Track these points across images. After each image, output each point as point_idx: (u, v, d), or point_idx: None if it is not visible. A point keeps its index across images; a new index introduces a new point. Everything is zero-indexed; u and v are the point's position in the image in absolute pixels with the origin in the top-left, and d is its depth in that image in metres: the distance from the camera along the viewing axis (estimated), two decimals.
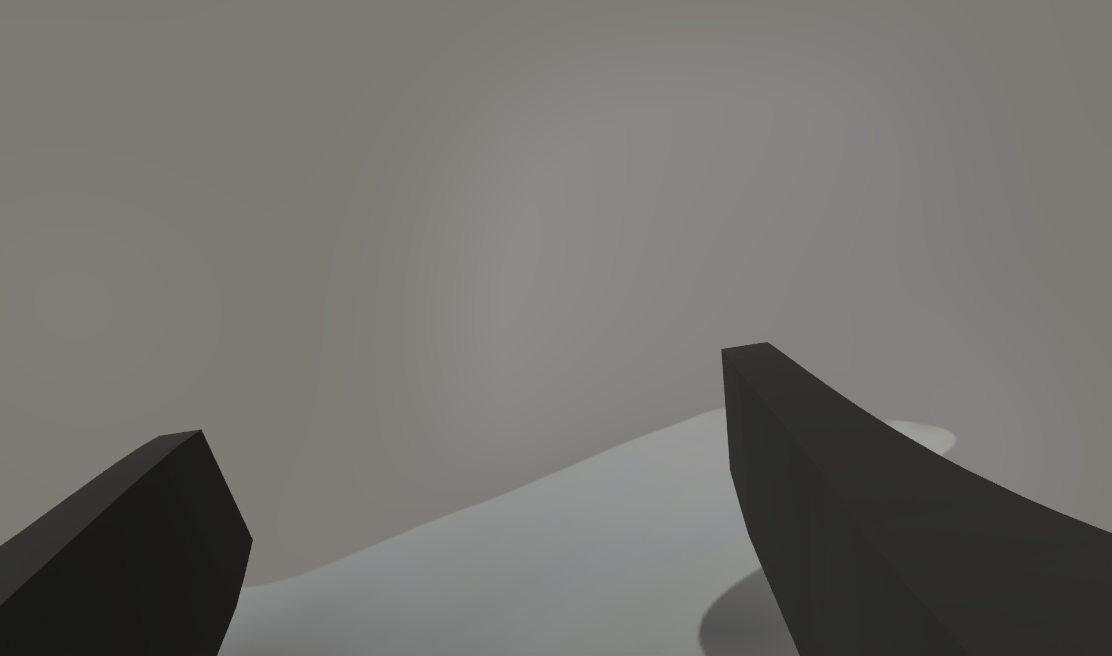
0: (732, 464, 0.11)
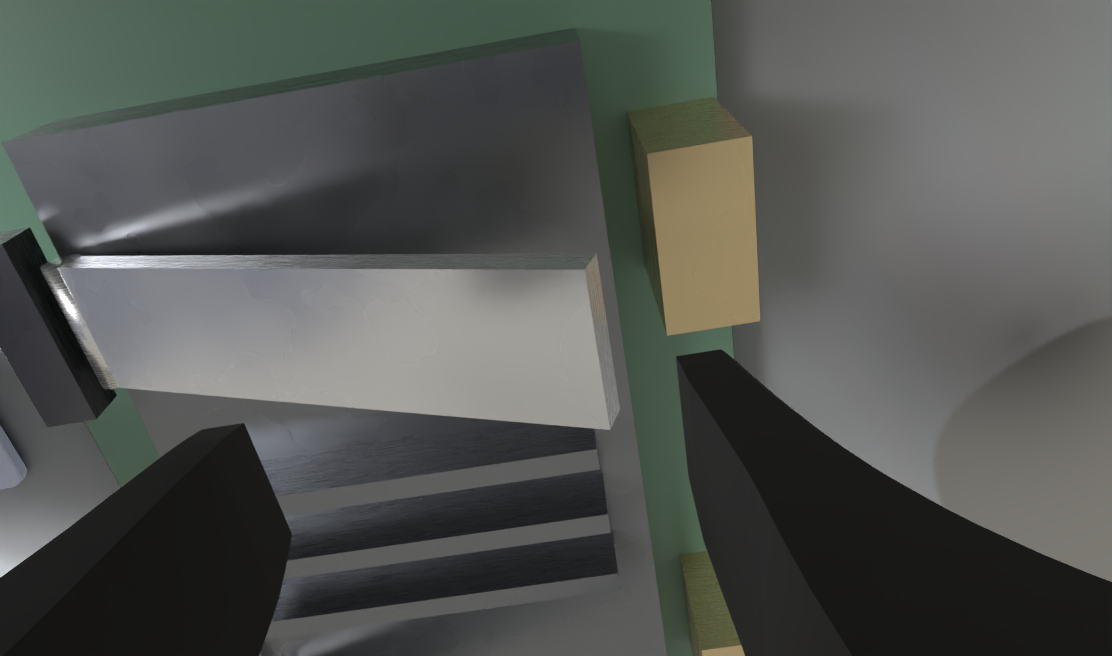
0: (689, 470, 0.11)
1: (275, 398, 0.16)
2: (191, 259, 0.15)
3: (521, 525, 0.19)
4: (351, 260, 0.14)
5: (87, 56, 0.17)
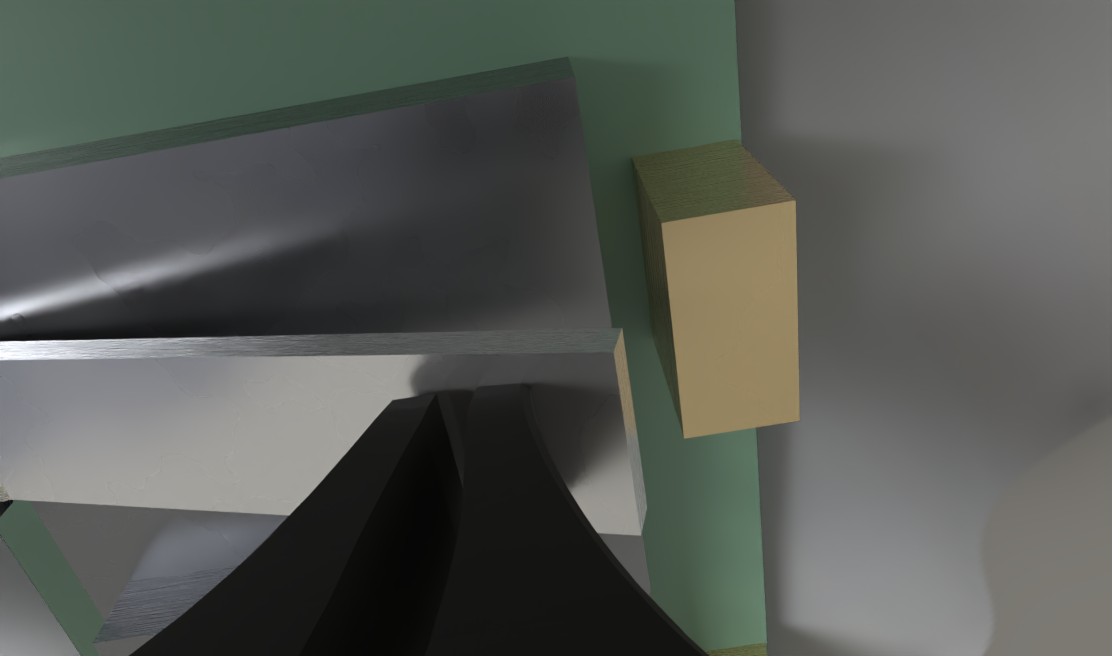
0: None
1: (213, 508, 0.13)
2: (99, 345, 0.12)
3: None
4: (308, 343, 0.11)
5: None
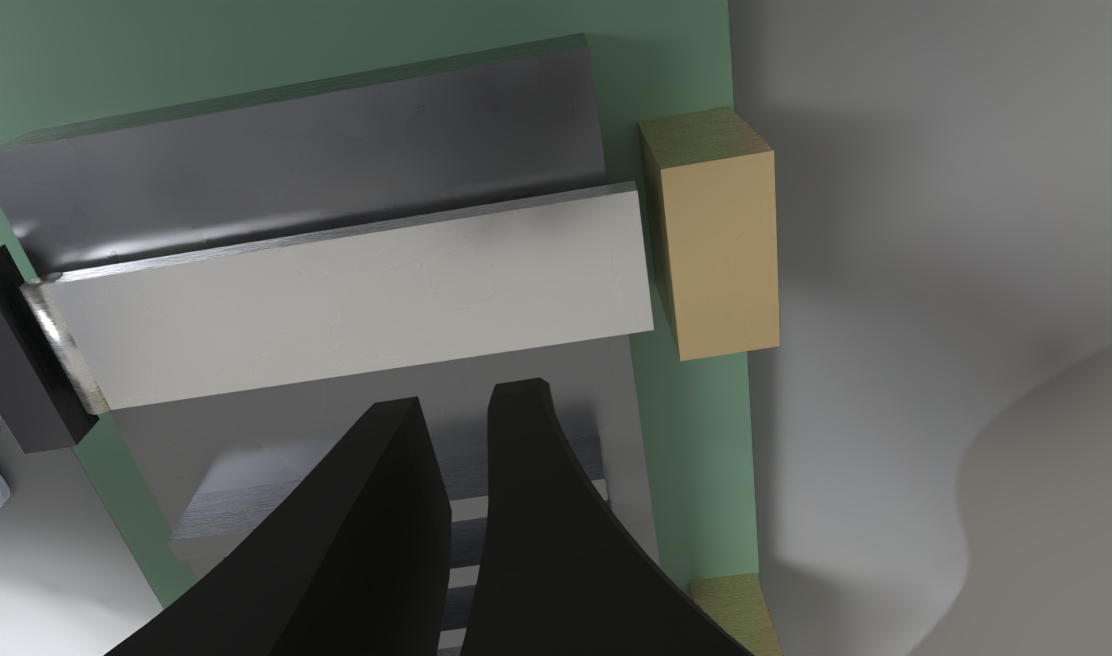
0: None
1: (312, 378, 0.16)
2: (217, 250, 0.15)
3: None
4: (405, 221, 0.15)
5: (66, 62, 0.16)
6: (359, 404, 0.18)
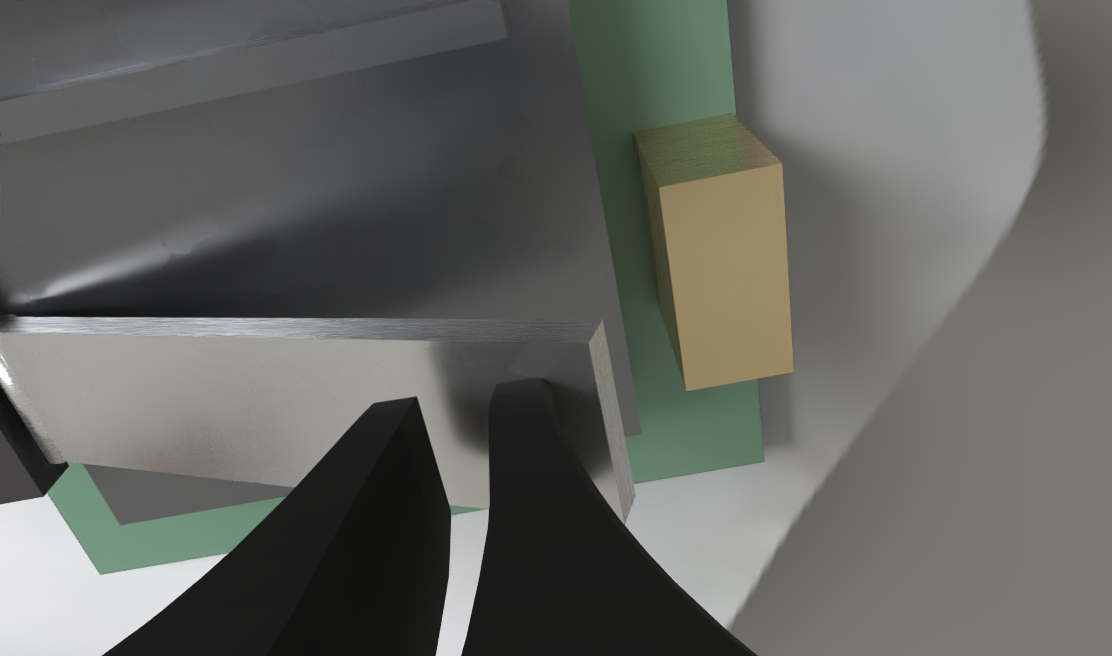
0: None
1: None
2: None
3: None
4: None
5: None
6: None
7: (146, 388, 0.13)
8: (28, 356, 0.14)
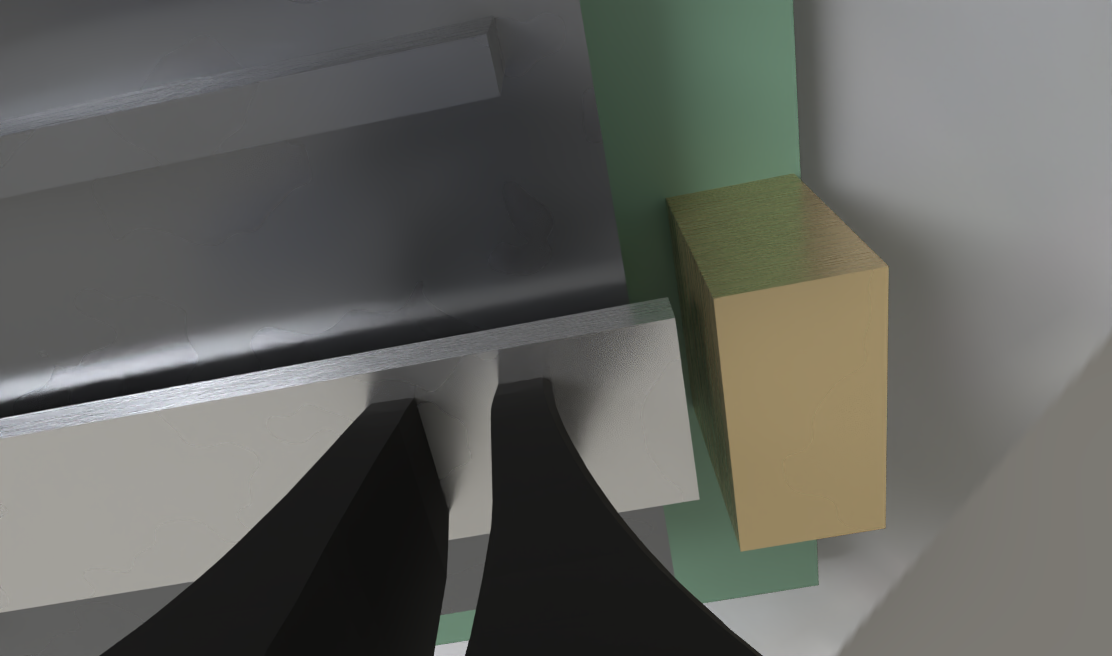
0: None
1: None
2: None
3: None
4: None
5: None
6: None
7: (95, 489, 0.11)
8: None
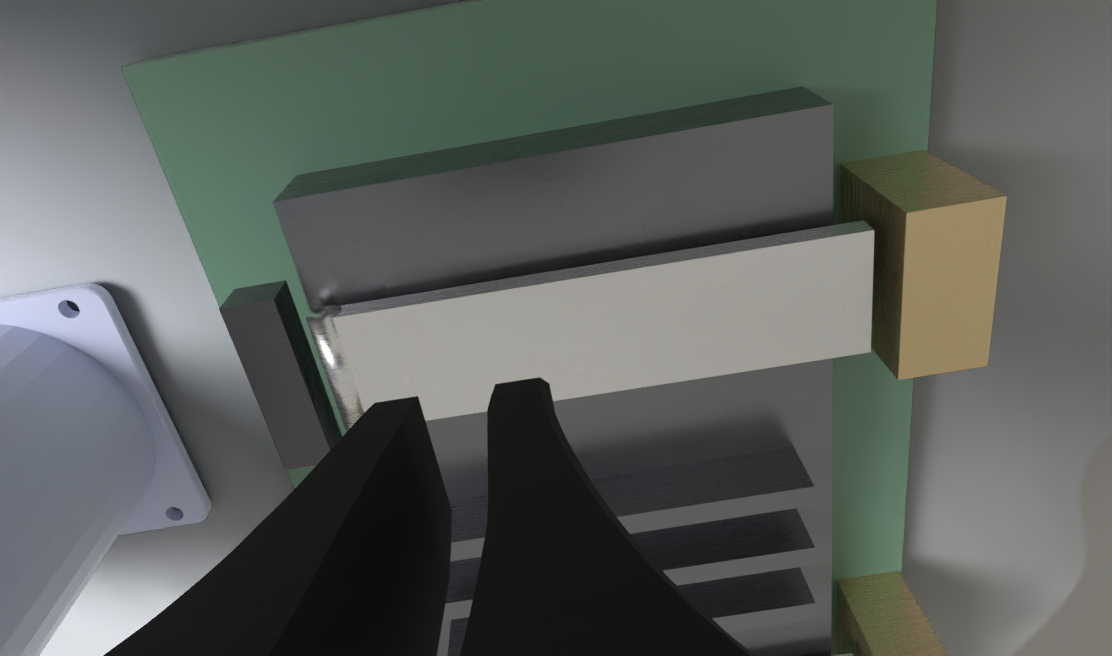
0: None
1: (556, 398, 0.18)
2: (485, 285, 0.17)
3: (730, 558, 0.20)
4: (659, 258, 0.17)
5: (336, 115, 0.18)
6: (581, 420, 0.19)
7: None
8: None
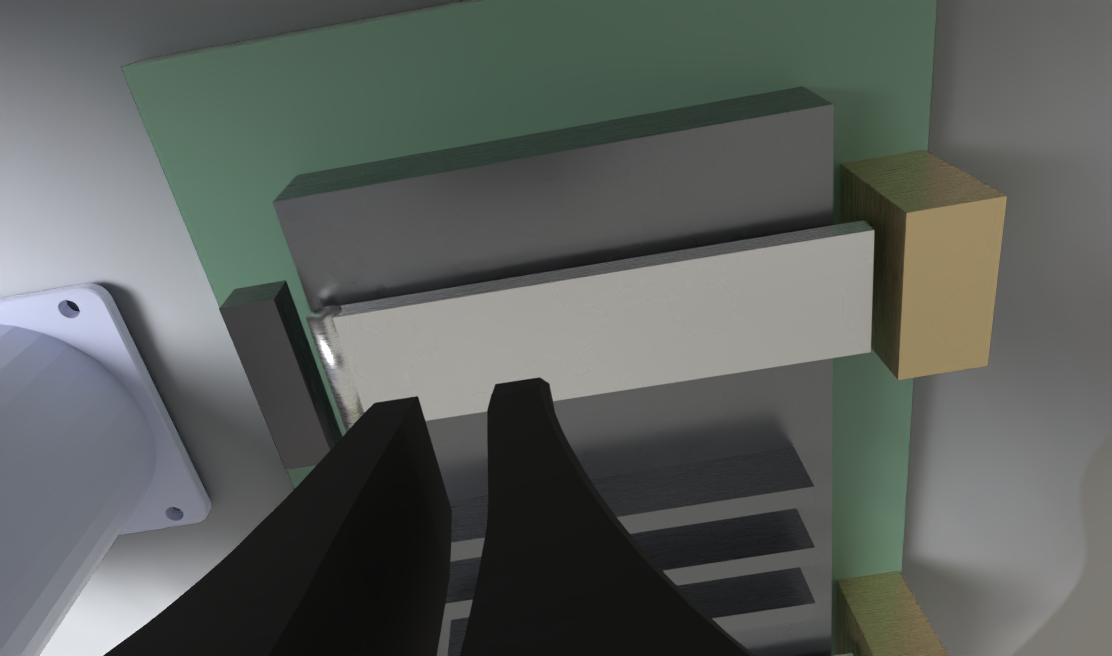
0: None
1: (556, 398, 0.18)
2: (485, 285, 0.17)
3: (730, 558, 0.20)
4: (659, 258, 0.17)
5: (336, 115, 0.18)
6: (581, 420, 0.19)
7: None
8: None
